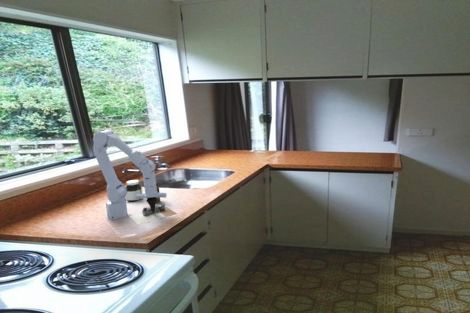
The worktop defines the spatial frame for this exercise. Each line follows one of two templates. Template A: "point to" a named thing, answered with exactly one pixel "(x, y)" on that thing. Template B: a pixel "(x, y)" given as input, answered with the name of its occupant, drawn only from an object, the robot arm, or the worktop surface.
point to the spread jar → (133, 190)
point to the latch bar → (149, 211)
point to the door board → (152, 216)
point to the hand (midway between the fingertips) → (153, 211)
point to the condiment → (158, 192)
